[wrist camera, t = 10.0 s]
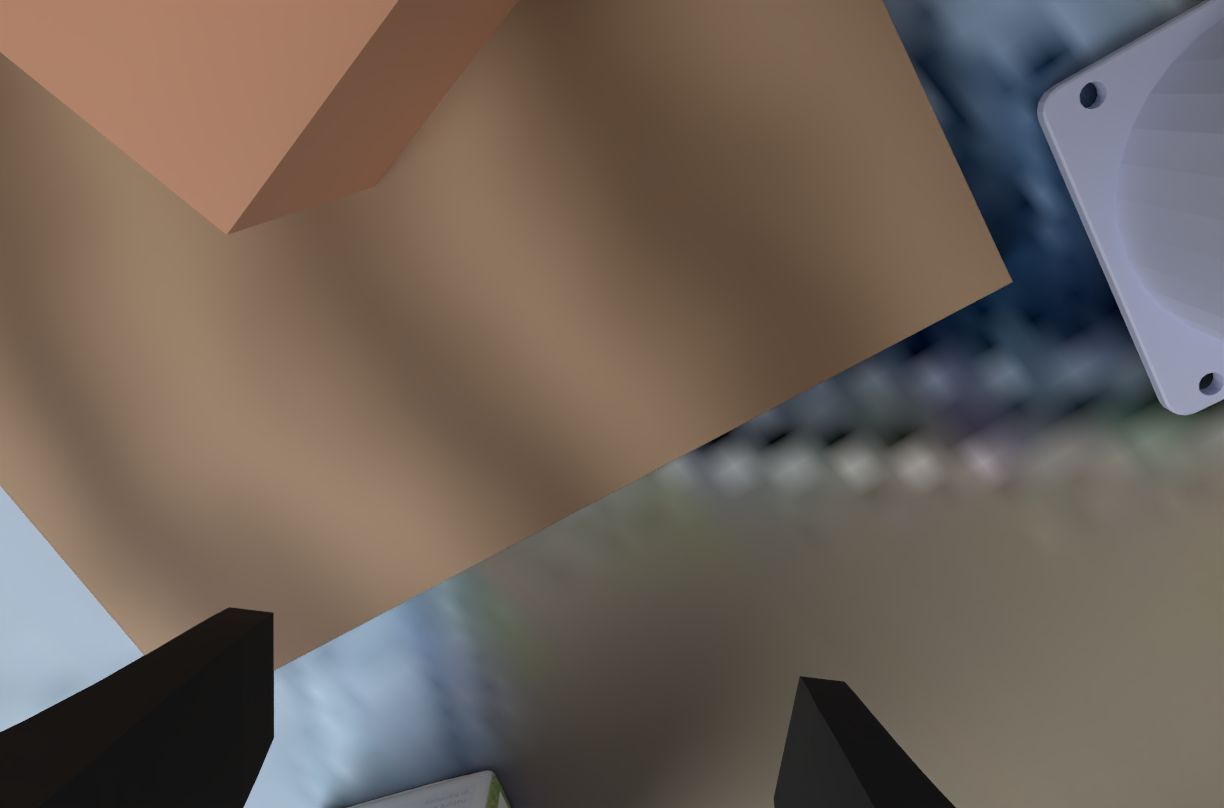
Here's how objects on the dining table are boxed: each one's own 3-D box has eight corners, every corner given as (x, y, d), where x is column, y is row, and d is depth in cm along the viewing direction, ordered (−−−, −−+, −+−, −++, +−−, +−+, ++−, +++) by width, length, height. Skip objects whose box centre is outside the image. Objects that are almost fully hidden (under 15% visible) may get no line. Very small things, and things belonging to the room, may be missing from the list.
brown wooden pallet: (563, -647, 16) (541, -843, 12) (991, 271, 20) (1057, 305, 17) (-307, 58, 20) (-493, 50, 16) (214, 684, 24) (148, 774, 21)
